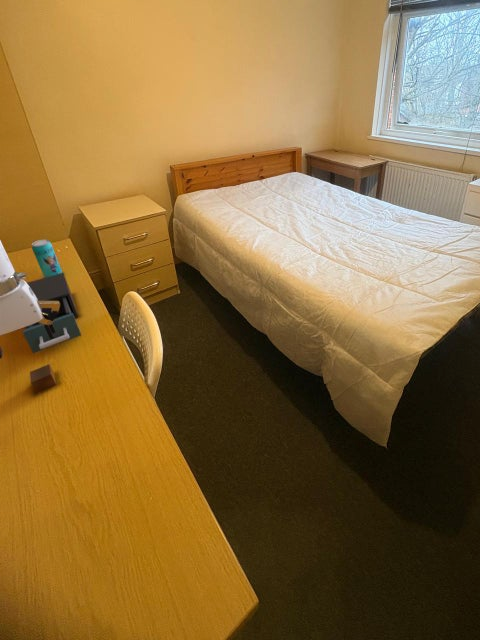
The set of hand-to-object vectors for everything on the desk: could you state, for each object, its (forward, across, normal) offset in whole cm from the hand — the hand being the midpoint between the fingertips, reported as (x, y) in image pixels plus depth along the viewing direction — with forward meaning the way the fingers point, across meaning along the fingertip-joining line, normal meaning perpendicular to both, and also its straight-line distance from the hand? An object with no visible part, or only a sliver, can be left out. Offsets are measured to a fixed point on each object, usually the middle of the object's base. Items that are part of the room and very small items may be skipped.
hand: (26, 345), depth 75 cm
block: (+13, 0, 0) cm, 13 cm away
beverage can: (+13, -6, -56) cm, 58 cm away
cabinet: (+13, -4, -32) cm, 34 cm away
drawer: (+12, -4, -17) cm, 22 cm away
